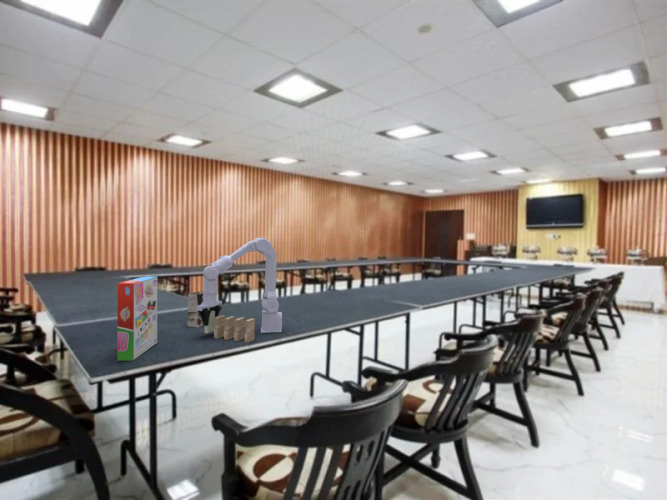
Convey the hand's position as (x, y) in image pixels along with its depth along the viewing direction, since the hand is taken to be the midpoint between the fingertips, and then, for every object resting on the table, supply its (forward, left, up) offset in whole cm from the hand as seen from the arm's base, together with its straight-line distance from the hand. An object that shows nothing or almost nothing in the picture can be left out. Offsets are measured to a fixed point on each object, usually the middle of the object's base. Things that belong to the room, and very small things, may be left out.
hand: (209, 324), depth 157 cm
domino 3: (-9, +5, -5) cm, 11 cm away
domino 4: (-13, +7, -5) cm, 16 cm away
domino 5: (-17, +10, -5) cm, 21 cm away
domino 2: (-4, +2, -5) cm, 7 cm away
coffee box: (+8, -21, -5) cm, 23 cm away
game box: (+23, +19, -5) cm, 30 cm away
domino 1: (0, 0, -3) cm, 3 cm away
